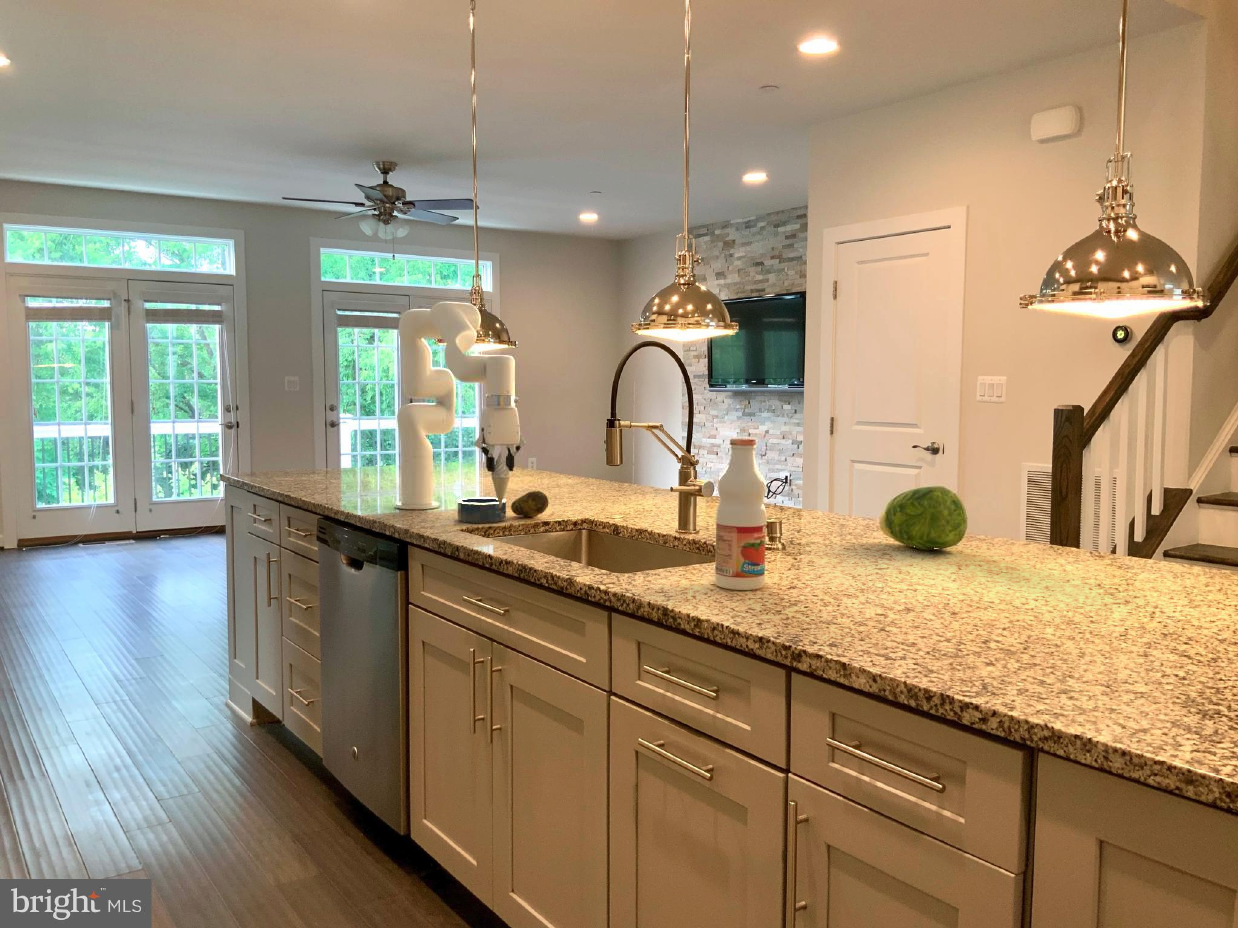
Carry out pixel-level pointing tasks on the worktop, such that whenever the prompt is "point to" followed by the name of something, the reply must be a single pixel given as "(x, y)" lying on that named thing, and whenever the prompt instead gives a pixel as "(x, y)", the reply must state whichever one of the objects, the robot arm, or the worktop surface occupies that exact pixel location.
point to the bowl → (480, 510)
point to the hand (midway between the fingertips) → (500, 470)
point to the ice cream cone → (500, 478)
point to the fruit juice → (741, 521)
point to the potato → (530, 504)
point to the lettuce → (925, 518)
